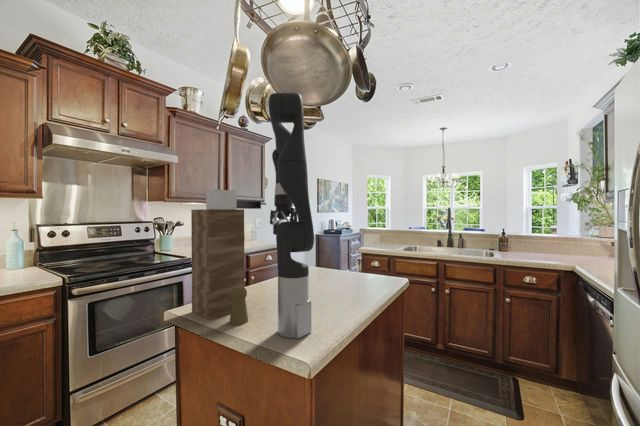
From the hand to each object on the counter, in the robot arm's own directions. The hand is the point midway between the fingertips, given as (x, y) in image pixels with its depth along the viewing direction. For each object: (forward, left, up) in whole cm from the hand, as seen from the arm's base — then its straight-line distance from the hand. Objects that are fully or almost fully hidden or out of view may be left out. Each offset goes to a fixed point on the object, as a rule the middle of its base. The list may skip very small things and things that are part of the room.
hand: (282, 234), depth 120 cm
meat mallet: (+10, +15, +10) cm, 21 cm away
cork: (-5, +25, -27) cm, 38 cm away
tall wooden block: (+10, +23, -27) cm, 37 cm away
